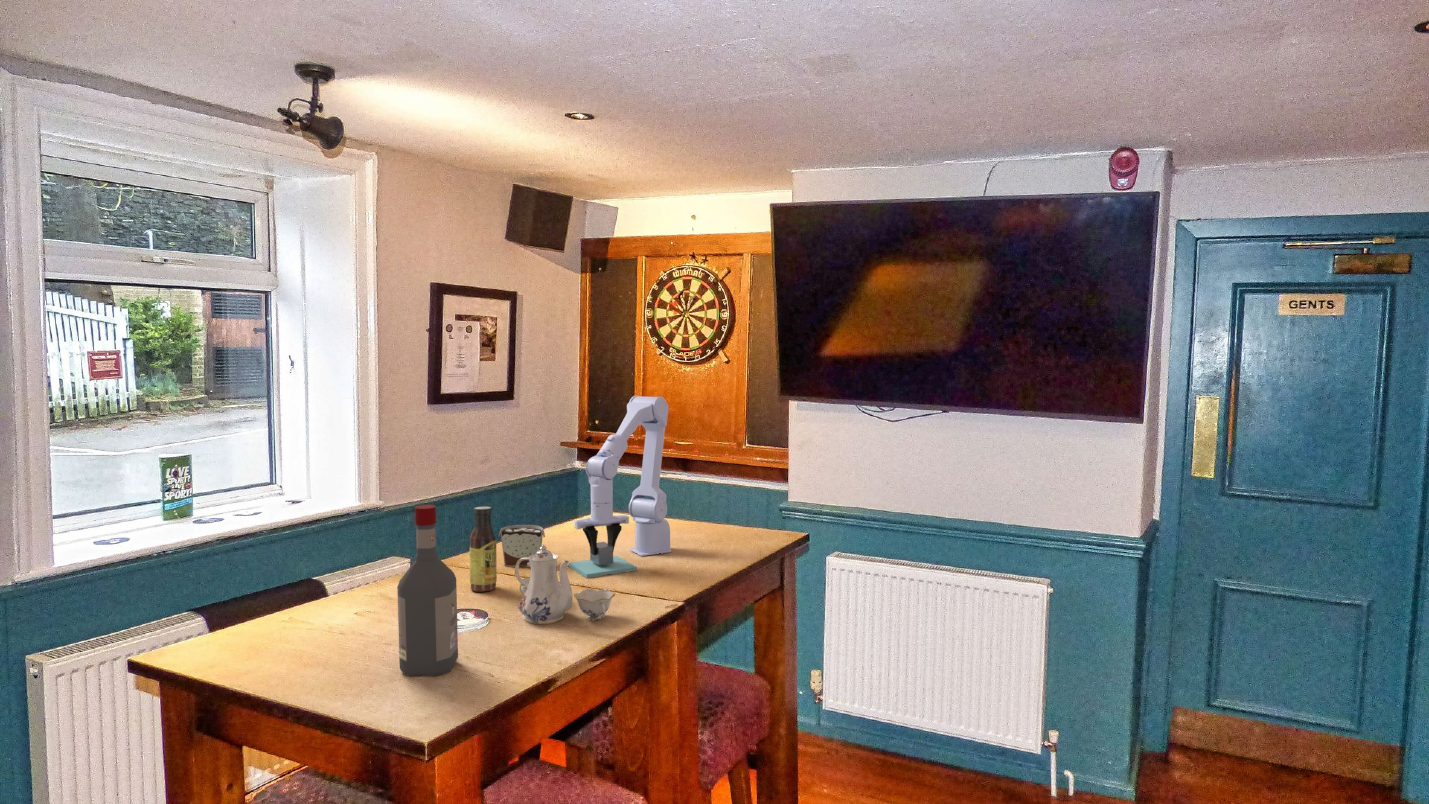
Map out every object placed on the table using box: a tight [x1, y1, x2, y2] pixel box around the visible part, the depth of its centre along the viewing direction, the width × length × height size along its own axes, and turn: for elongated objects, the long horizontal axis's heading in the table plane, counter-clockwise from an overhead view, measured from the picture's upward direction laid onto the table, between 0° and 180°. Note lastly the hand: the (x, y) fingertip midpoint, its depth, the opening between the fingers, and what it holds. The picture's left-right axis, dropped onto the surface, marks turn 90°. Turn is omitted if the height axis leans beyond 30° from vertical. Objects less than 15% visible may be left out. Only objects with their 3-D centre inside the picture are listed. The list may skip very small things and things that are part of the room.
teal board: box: [567, 555, 638, 579], centre depth 229 cm, size 14×13×1 cm
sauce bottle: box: [469, 506, 498, 593], centre depth 210 cm, size 7×6×20 cm
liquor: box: [397, 504, 459, 678], centre depth 160 cm, size 9×9×30 cm
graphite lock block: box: [589, 541, 614, 565], centre depth 229 cm, size 4×6×4 cm, turn 30°
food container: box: [498, 524, 546, 568], centre depth 234 cm, size 12×6×10 cm, turn 84°
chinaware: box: [514, 543, 616, 625], centre depth 191 cm, size 28×17×17 cm, turn 59°
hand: (602, 553), depth 229 cm, fingers open, 4 cm apart
